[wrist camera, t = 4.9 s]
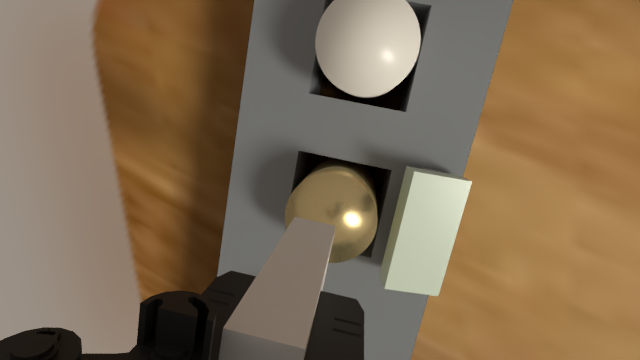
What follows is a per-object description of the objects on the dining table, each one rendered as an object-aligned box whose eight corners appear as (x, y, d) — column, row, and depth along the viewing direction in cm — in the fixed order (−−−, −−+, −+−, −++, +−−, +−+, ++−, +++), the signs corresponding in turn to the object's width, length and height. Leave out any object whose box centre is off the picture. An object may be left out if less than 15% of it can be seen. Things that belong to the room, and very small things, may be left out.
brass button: (310, 151, 21) (293, 164, 17) (383, 166, 21) (387, 184, 16) (298, 219, 22) (278, 251, 18) (367, 235, 22) (366, 272, 17)
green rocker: (402, 163, 18) (414, 171, 16) (454, 172, 18) (472, 181, 17) (376, 270, 19) (384, 288, 18) (424, 277, 20) (438, 296, 18)
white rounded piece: (336, 9, 20) (325, -23, 15) (417, 22, 19) (432, -6, 14) (322, 90, 21) (307, 85, 16) (397, 105, 20) (406, 105, 15)
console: (284, -47, 21) (265, -81, 17) (495, -13, 20) (525, -43, 16) (227, 337, 27) (203, 376, 23) (387, 379, 26) (390, 428, 22)
